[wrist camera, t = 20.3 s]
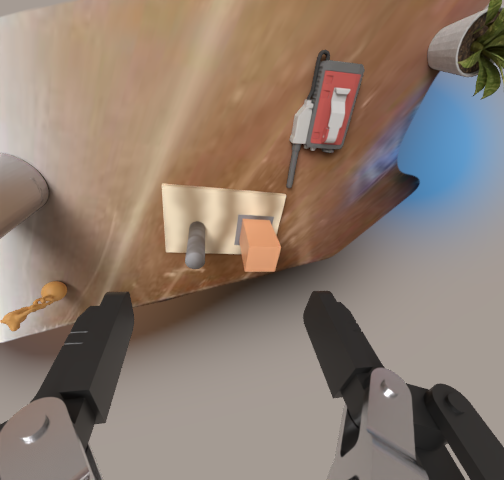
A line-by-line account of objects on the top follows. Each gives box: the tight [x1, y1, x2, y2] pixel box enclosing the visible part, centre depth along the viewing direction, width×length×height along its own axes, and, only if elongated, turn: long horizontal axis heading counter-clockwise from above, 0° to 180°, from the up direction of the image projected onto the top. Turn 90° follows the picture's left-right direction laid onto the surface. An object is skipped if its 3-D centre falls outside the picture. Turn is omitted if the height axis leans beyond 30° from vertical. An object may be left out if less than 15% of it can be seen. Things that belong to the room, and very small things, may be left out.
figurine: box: [0, 281, 67, 331], centre depth 43 cm, size 8×6×12 cm
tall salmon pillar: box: [239, 219, 281, 272], centre depth 43 cm, size 5×5×9 cm
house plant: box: [427, 0, 504, 99], centre depth 29 cm, size 14×14×16 cm
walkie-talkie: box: [287, 50, 364, 188], centre depth 37 cm, size 9×4×20 cm
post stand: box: [162, 184, 286, 269], centre depth 42 cm, size 22×14×11 cm, turn 81°
